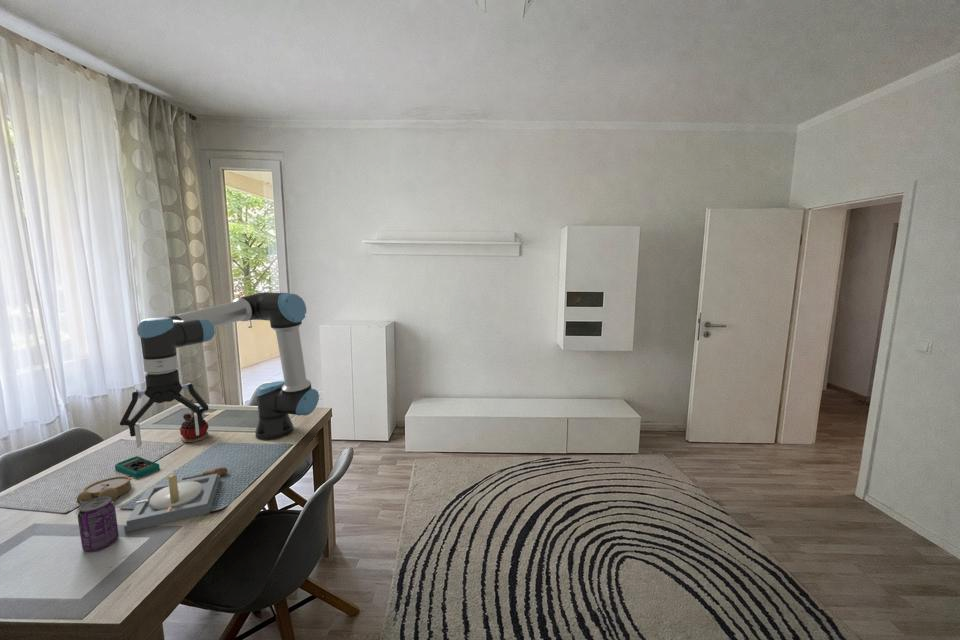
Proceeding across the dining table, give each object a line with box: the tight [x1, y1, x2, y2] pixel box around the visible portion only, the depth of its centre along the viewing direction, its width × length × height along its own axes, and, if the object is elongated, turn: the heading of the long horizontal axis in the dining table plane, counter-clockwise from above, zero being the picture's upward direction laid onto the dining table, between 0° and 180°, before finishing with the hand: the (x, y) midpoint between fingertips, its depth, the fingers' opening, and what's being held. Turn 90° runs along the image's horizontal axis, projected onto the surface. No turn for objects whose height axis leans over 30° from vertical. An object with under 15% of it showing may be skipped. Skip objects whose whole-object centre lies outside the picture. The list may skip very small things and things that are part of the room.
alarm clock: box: [75, 475, 132, 506], centre depth 125 cm, size 11×5×15 cm
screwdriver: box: [181, 467, 228, 480], centre depth 136 cm, size 13×3×3 cm, turn 116°
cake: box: [179, 398, 209, 443], centre depth 165 cm, size 11×9×18 cm
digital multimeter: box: [114, 455, 161, 479], centre depth 141 cm, size 7×15×3 cm, turn 67°
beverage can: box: [77, 497, 120, 552], centre depth 103 cm, size 7×7×12 cm
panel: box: [123, 473, 221, 533], centre depth 122 cm, size 20×20×3 cm
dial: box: [150, 473, 202, 510], centre depth 121 cm, size 13×13×10 cm
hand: (169, 439), depth 114 cm, fingers open, 13 cm apart
